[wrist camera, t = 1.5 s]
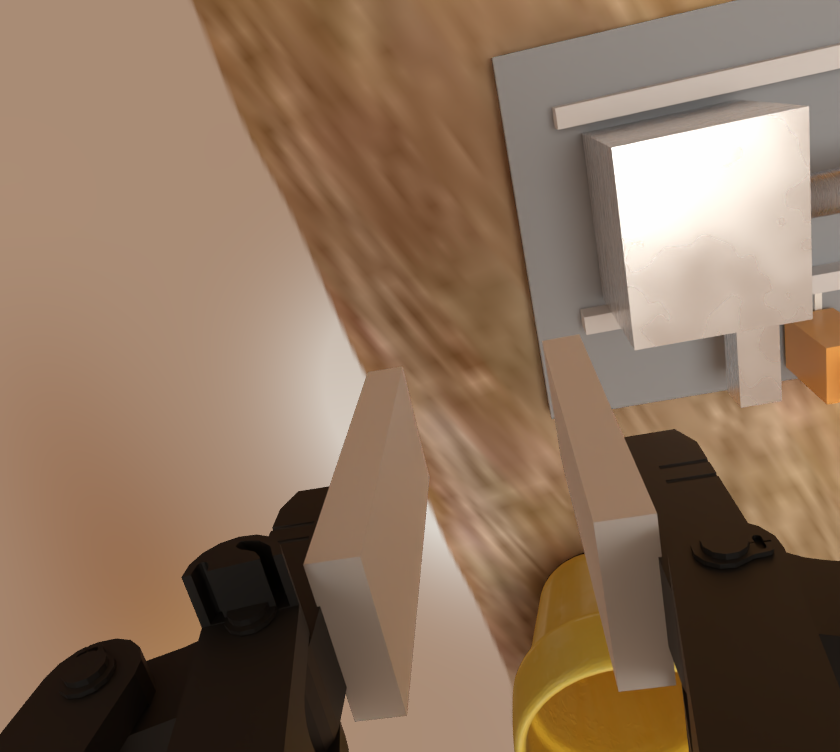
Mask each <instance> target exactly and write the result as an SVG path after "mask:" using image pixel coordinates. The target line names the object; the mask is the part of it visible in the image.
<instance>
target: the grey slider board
mask: <svg viewBox="0 0 840 752" xmlns="http://www.w3.org/2000/svg"><path fill="white" fill-rule="evenodd" d="M492 64H493V71H494V77H495V83H496V89H497V95H498V101H499V107H500V113H501V119H502V125H503V131H504V137H505V143H506V150H507V156H508V162H509V168H510V174H511V180H512V186H513V192H514V198H515V204H516V210H517V216H518V222H519V228H520V235H521V241H522V247H523V253H524V259H525V265H526V271H527V277H528V283H529V289H530V295H531V301H532V307H533V314H534V320H535V326H536V332H537V338H538V344H539V350H540V356H541V362H542V368H543V374H544V380H545V386H546V392H547V399H548V405H549V410H550V414H551V418H552V419H555V418H554V412H553V405H552V399H551V393H550V387H549V381H548V375H547V369H546V362H545V356H544V350H543V344H542V341H545V340H550V339H556V338H561V337H567V336H573V335H578V334H579V335H580V337H581V339H582V342H583V344H584V346H585V349H586V351H587V353H588V356H589V358H590V360H591V363H592V365H593V367H594V369H595V372H596V374H597V376H598V379H599V381H600V383H601V386H602V388H603V390H604V392H605V395H606V397H607V399H608V402H609V404H610V406H611V409H615V408H621V407H627V406H633V405H639V404H645V403H651V402H658V401H664V400H670V399H676V398H682V397H688V396H694V395H700V394H706V393H712V392H718V391H724V390H728V388H727V373H726V357H725V342H724V335H720V336H714V337H708V338H703V339H697V340H691V341H685V342H680V343H674V344H668V345H663V346H657V347H651V348H645V349H640V350H634V348H633V347H632V345H631V344H630V342H629V340H628V339H627V337H626V335H625V334H624V332H623V330H622V329H621V327H620V326H619V324H618V322H617V321H616V319H615V317H614V316H613V314H612V312H611V311H610V309H609V308H608V306H607V304H606V303H605V301H604V299H603V295H602V287H601V279H600V271H599V263H598V255H597V248H596V240H595V232H594V224H593V216H592V208H591V200H590V192H589V185H588V177H587V169H586V161H585V153H584V145H583V137H582V133H585V132H590V131H594V130H599V129H603V128H608V127H613V126H617V125H622V124H626V123H631V122H636V121H640V120H645V119H650V118H654V117H659V116H663V115H668V114H673V113H677V112H682V111H686V110H691V109H696V108H700V107H705V106H710V105H714V104H719V103H723V102H728V101H733V100H747V101H759V102H770V103H782V104H794V105H805V106H809V130H810V173H815V172H820V171H825V170H830V169H835V168H840V0H736V1H732V2H727V3H723V4H719V5H715V6H710V7H706V8H702V9H697V10H693V11H689V12H685V13H680V14H676V15H672V16H668V17H663V18H659V19H655V20H651V21H646V22H642V23H638V24H634V25H629V26H625V27H621V28H616V29H612V30H608V31H604V32H599V33H595V34H591V35H587V36H582V37H578V38H574V39H570V40H565V41H561V42H557V43H552V44H548V45H544V46H540V47H535V48H531V49H527V50H523V51H518V52H514V53H510V54H506V55H501V56H497V57H493V58H492ZM811 244H812V301H813V311H817V310H823V309H829V308H834V309H835V310H837V311H839V312H840V213H839V214H834V215H829V216H824V217H819V218H813V219H811ZM779 331H780V360H781V381H785V380H791V379H797V377H796V376H795V375H794V374H793V373H792V372H791V371H790V370H789V369H788V368H786V356H785V326H784V324H783V325H779Z"/></svg>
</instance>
